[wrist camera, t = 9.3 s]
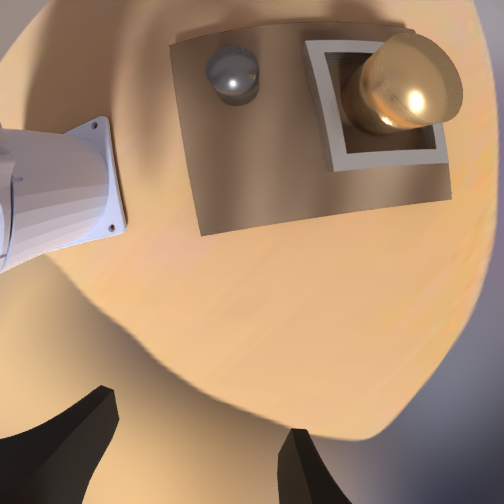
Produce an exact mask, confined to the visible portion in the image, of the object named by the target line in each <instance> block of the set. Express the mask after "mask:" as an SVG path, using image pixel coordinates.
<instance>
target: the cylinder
mask: <svg viewBox="0 0 504 504" xmlns="http://www.w3.org/2000/svg"><path fill="white" fill-rule="evenodd" d="M462 101H463V88H462V83H461V79H460V76H459V74H458V71H457V69H456V67H455V65H454V64H453V62H452V61H451V59H450V58H449V56H448V55H447V54H446V53H445V52H444V51H443V50H442V49H441V48H440V47H439V46H438V45H437V44H435V43H434V42H433V41H431V40H430V39H428V38H426V37H424V36H422V35H419V34H416V33H410V32H403V33H398V34H396V35H393V36H392V37H391V38H389V39H388V40H387V41H386V42H385V43H384V44H383V45H382V46H381V47H380V48H379V49H378V50H377V51H376V52H375V53H374V54H373V55H372V56H371V57H370V58H369V59H368V60H367V61H366V62H365V63H364V64H362V65H361V66H360V67H359V68H358V69H357V70H356V71H355V72H354V73H353V74H352V75H351V76H350V77H349V78H348V80H347V81H346V82H345V84H344V85H343V88H342V91H341V103H342V107H343V110H344V112H345V114H346V116H347V118H348V119H349V120H350V122H351V123H352V124H353V125H354V126H355V127H356V128H358V129H359V130H361V131H362V132H364V133H367V134H369V135H373V136H383V135H388V134H392V133H396V132H400V131H405V130H409V129H414V128H418V127H423V126H427V125H432V124H437V123H442V122H446V121H449V120H451V119H453V118H454V117H455V116H456V115H457V114H458V112H459V110H460V108H461V105H462Z"/></svg>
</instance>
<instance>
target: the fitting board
mask: <svg viewBox="0 0 504 504" xmlns="http://www.w3.org/2000/svg"><path fill="white" fill-rule="evenodd" d="M403 32H410V33H415V31H414V30H412V29H407V28H400V27H394V26H386V25H377V24H367V23H352V22H298V23H284V24H273V25H264V26H256V27H249V28H242V29H236V30H231V31H225V32H220V33H216V34H211V35H207V36H202V37H198V38H194V39H190V40H187V41H183V42H180V43H176V44H173V45H169V47H170V56H171V64H172V72H173V79H174V87H175V94H176V101H177V107H178V114H179V120H180V127H181V133H182V139H183V145H184V151H185V156H186V162H187V168H188V173H189V178H190V184H191V189H192V194H193V199H194V204H195V209H196V214H197V219H198V224H199V229H200V234H201V236H206V235H212V234H218V233H223V232H229V231H235V230H241V229H247V228H253V227H259V226H265V225H271V224H278V223H284V222H290V221H297V220H303V219H310V218H316V217H323V216H330V215H336V214H343V213H350V212H357V211H365V210H372V209H379V208H387V207H394V206H402V205H410V204H418V203H426V202H434V201H443V200H451V199H452V196H451V183H450V173H449V164H448V163H449V161H448V154H447V147H446V141H445V135H444V129H443V124H442V123H437V124H432V125H427V126H423V127H418V128H414V129H409V130H405V131H400V132H396V133H392V134H388V135H383V136H373V135H369V134H367V133H364V132H362V131H361V130H359V129H358V128H356V127H355V126H354V125H353V124H352V123H351V122H350V120H349V119H348V118H347V116H346V114H345V112H344V110H343V107H342V103H341V91H342V88H343V85H344V84H345V82H346V81H347V80H348V78H349V77H350V76H351V75H352V74H353V73H354V72H355V71H356V70H357V69H358V68H359V67H360V66H361V65H362V64H364V63H365V62H366V61H367V60H368V59H369V58H370V57H371V56H372V55H373V54H374V53H375V52H376V51H377V50H378V49H379V48H380V47H381V46H382V45H383V44H384V43H385V42H386V41H387V40H388V39H389V38H391V37H392V36H393V35H396V34H398V33H403Z"/></svg>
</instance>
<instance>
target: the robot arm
mask: <svg viewBox="0 0 504 504" xmlns="http://www.w3.org/2000/svg"><path fill="white" fill-rule="evenodd" d="M96 123H97V124H98V125H97V128H96V129H95V128H94V126H95V124H96ZM112 224H113V225H114V227H115V231H113V230H112V228H111V225H112ZM126 228H127V224H126V220H125V215H124V211H123V206H122V201H121V196H120V191H119V185H118V180H117V174H116V168H115V162H114V155H113V148H112V141H111V133H110V124H109V119H108V118H107V117H105V116H100V117H97V118H95V119H93V120H91V121H88V122H86V123H84V124H82V125H80V126H78V127H76V128H74V129H72V130H70V131H68V132H66V133H64V134H57V133H48V132H39V131H29V130H18V129H4V128H2V126H1V123H0V273H3V272H5V271H7V270H9V269H11V268H13V267H15V266H17V265H19V264H21V263H23V262H26V261H28V260H30V259H32V258H34V257H36V256H39V255H41V254H43V253H46V252H50V251H54V250H58V249H61V248H65V247H69V246H73V245H77V244H81V243H85V242H89V241H93V240H97V239H102V238H106V237H110V236H114V235H119V234H122V233H124V232H125V231H126ZM118 421H119V416H118V411H117V405H116V400H115V395H114V390H113V389H110V388H107V387H105V386H102V385H100V386H99V387H98V388H96V389H95V390H93V391H92V392H91V393H89V394H88V395H87V396H85V397H84V398H82V399H81V400H80V401H78V402H77V403H75V404H74V405H73V406H71V407H70V408H68V409H67V410H65V411H64V412H62V413H60V414H59V415H57V416H55V417H54V418H52V419H50V420H48V421H47V422H45V423H43V424H41V425H39V426H37V427H35V428H32V429H30V430H28V431H25V432H22V433H20V434H17V435H14V436H11V437H7V438H3V439H0V504H82V501H83V498H84V495H85V492H86V489H87V486H88V484H89V481H90V479H91V477H92V475H93V473H94V471H95V469H96V467H97V465H98V463H99V461H100V460H101V458H102V456H103V454H104V452H105V451H106V449H107V447H108V445H109V443H110V441H111V439H112V438H113V435H114V432H115V430H116V427H117V424H118ZM277 477H278V491H279V502H280V504H352V503H351V502H350V501H349V500H348V498H347V497H346V496H345V495H344V494H343V492H342V491H341V489H340V488H339V486H338V485H337V484H336V482H335V481H334V479H333V478H332V476H331V475H330V473H329V471H328V470H327V468H326V466H325V465H324V463H323V461H322V459H321V458H320V455H319V454H318V452H317V450H316V448H315V446H314V444H313V441H312V439H311V437H310V435H309V433H308V431H307V430H306V429H294V428H291V430H290V432H289V434H288V436H287V439H286V440H285V442H284V444H283V446H282V448H281V450H280V452H279V454H278V470H277Z"/></svg>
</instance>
